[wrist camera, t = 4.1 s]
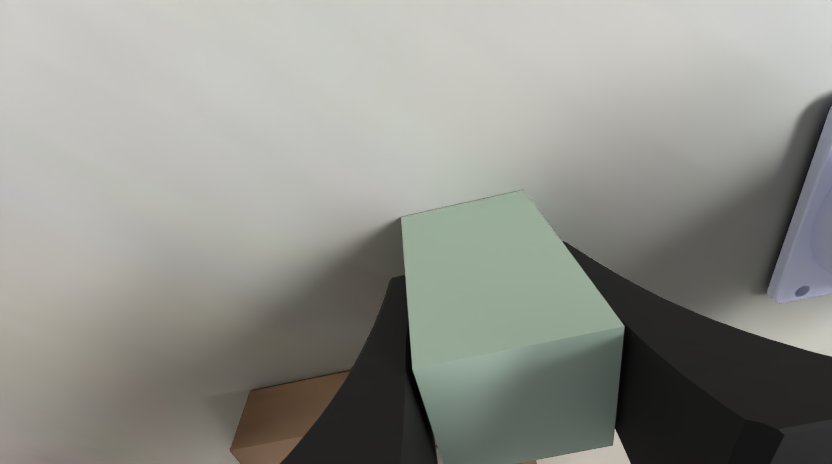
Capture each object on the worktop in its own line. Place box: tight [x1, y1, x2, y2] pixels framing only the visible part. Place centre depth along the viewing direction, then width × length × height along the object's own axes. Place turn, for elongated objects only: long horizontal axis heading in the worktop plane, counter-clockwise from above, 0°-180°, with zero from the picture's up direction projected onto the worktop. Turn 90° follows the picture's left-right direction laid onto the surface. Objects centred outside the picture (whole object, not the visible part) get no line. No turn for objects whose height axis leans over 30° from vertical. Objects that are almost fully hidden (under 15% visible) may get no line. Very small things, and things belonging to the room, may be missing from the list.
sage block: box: [401, 190, 625, 464], centre depth 11 cm, size 4×4×6 cm
